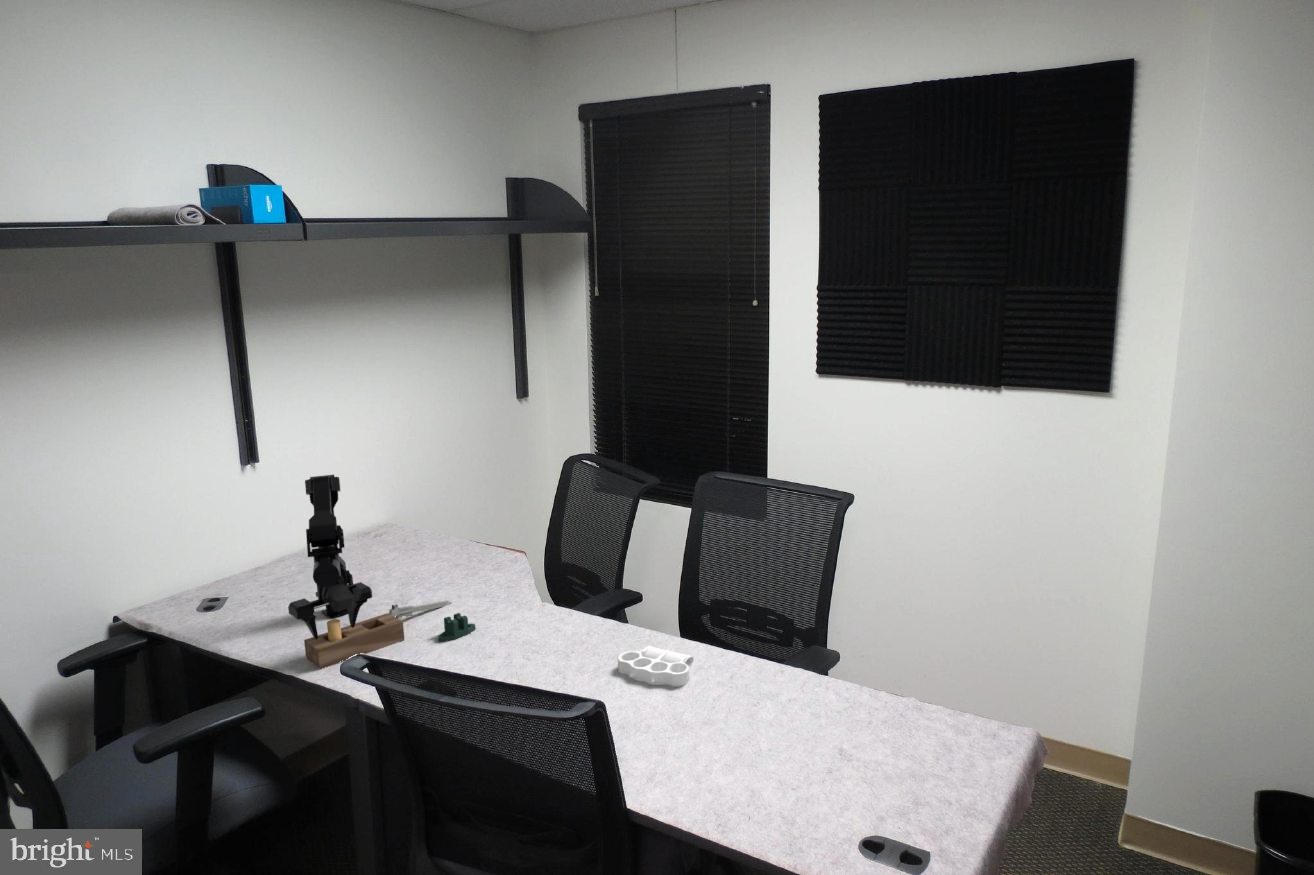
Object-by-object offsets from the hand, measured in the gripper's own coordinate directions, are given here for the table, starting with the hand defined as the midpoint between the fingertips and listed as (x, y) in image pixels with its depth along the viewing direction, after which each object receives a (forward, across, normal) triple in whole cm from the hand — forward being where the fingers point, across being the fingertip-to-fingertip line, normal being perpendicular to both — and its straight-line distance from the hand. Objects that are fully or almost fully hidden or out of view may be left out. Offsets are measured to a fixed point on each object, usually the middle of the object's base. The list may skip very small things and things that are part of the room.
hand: (334, 633), depth 219 cm
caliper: (+6, +27, +7) cm, 29 cm away
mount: (+6, +27, -11) cm, 30 cm away
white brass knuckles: (+7, +48, -63) cm, 80 cm away
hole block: (+6, +5, 0) cm, 8 cm away
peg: (+6, 0, 0) cm, 6 cm away
